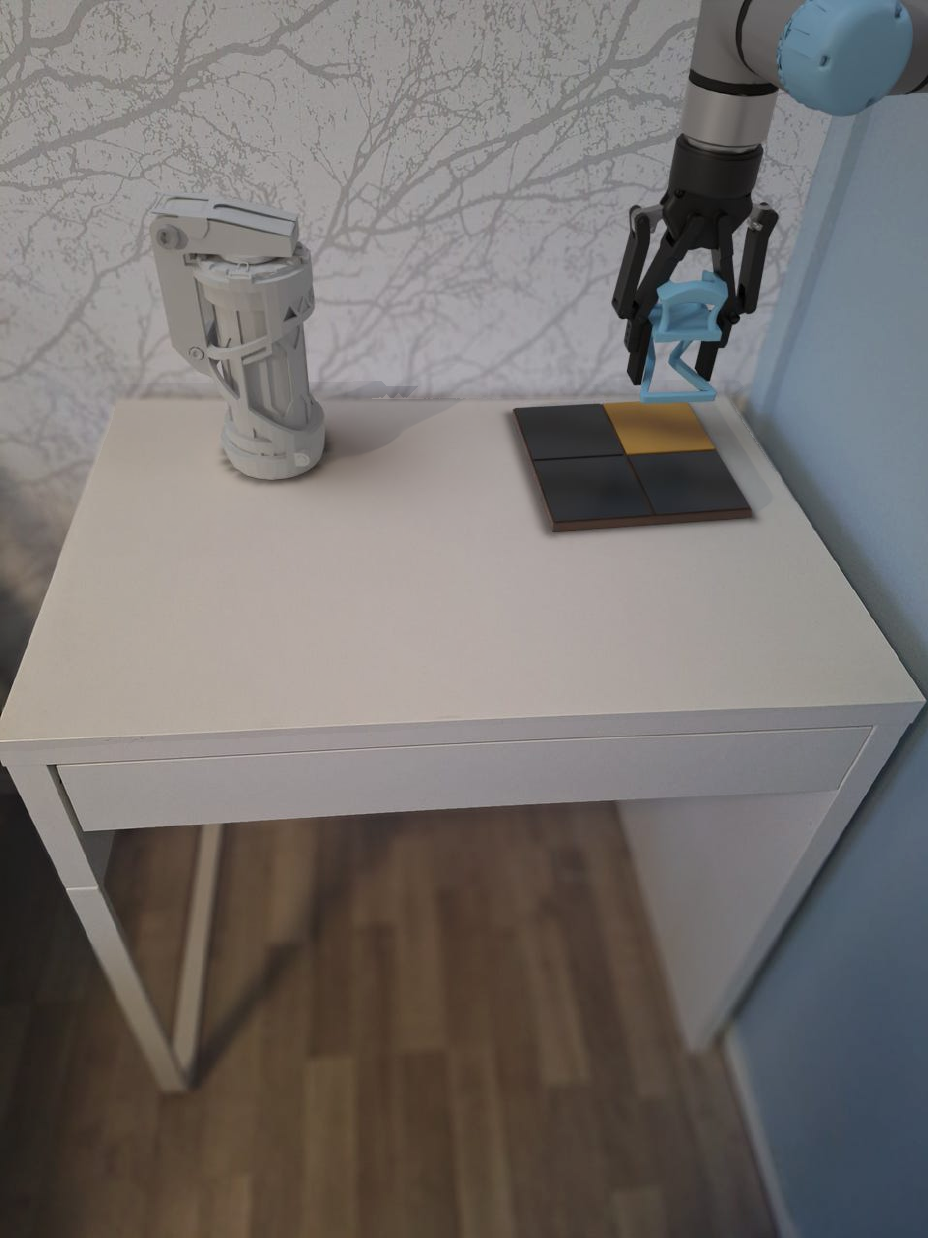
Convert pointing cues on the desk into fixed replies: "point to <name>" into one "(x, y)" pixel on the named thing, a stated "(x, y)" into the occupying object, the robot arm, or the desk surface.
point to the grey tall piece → (243, 322)
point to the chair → (684, 333)
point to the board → (625, 465)
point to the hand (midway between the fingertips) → (668, 376)
